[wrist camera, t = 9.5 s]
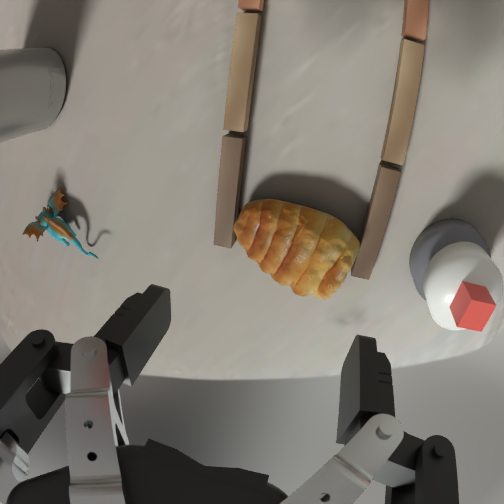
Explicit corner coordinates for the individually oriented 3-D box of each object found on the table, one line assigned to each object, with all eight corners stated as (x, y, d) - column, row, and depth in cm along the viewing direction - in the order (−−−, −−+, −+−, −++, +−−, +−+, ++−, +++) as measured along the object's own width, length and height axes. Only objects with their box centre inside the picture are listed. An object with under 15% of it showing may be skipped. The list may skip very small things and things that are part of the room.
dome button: (411, 302, 23) (421, 344, 18) (439, 232, 20) (460, 267, 16) (471, 314, 22) (487, 354, 18) (501, 251, 19) (528, 286, 15)
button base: (398, 284, 26) (401, 297, 24) (425, 209, 22) (431, 218, 20) (463, 299, 24) (469, 312, 23) (493, 230, 21) (503, 241, 19)
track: (218, 238, 28) (213, 244, 27) (256, -79, 14) (253, -85, 13) (367, 272, 26) (368, 279, 25) (426, -53, 12) (429, -58, 11)
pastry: (229, 242, 28) (212, 265, 24) (258, 173, 24) (244, 188, 21) (327, 291, 27) (323, 320, 24) (368, 229, 24) (371, 253, 20)
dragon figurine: (100, 236, 37) (55, 193, 33) (117, 233, 31) (63, 181, 27) (68, 278, 34) (21, 235, 30) (80, 284, 29) (21, 232, 24)
